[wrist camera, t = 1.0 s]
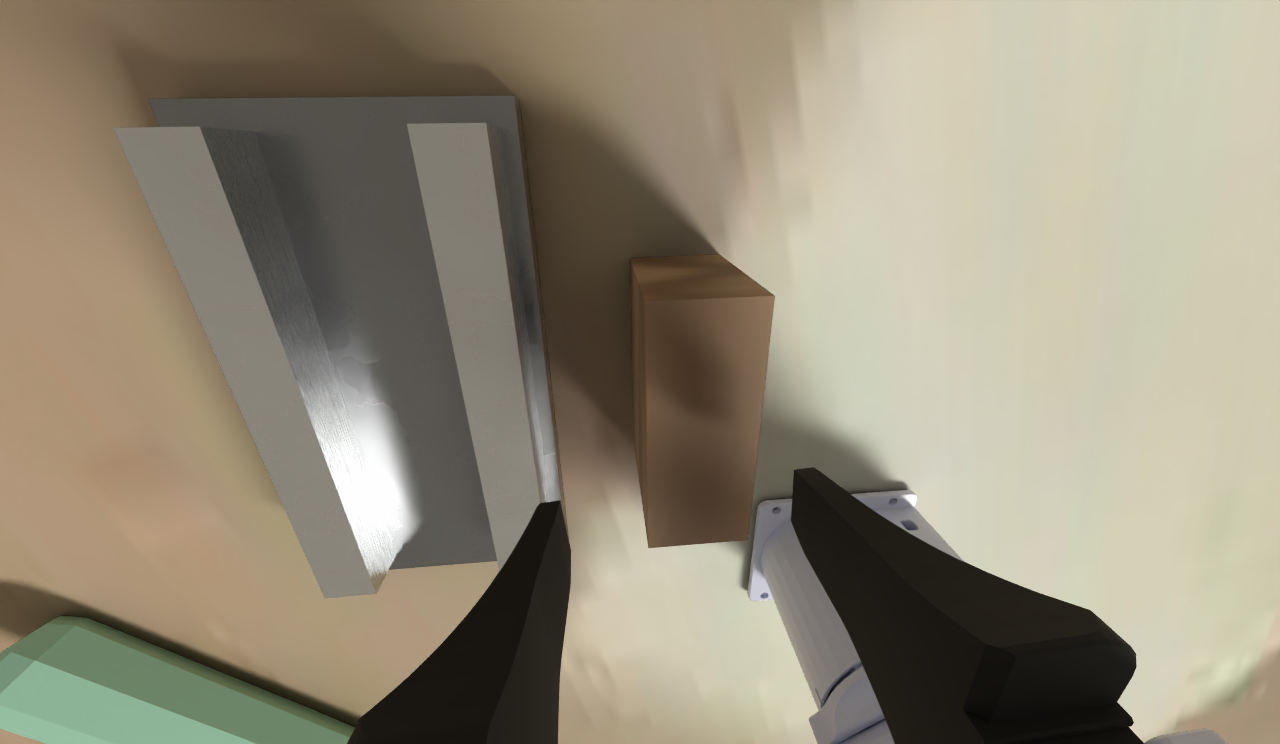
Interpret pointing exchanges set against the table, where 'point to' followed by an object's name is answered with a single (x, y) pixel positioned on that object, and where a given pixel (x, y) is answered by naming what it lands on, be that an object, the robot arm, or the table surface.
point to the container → (139, 695)
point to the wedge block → (697, 395)
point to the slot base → (368, 314)
